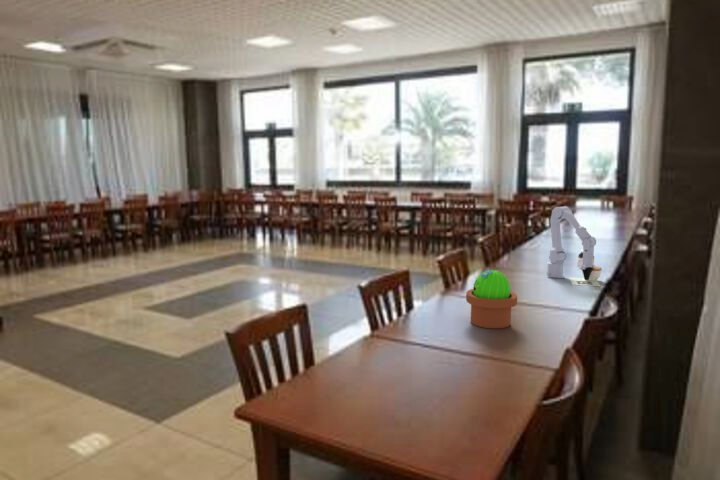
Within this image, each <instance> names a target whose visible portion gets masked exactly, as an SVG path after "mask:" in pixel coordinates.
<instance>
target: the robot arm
mask: <svg viewBox="0 0 720 480" xmlns="http://www.w3.org/2000/svg"><path fill="white" fill-rule="evenodd" d="M549 220H550V221H549V223H550V224H549V225H550V234H551V245H552V247H551V249H550V252H549V257H548V259H549V261H550V262H547V267H546V276H547V278H555V279H556V278H558V279H559V278H560V279H565V275H563V273H564V263H565V260H566V259H567V254H566V253H565V249H564V247H563V245H562V236H561V221H563V220H567V221H568V223H570V225H571V226H572V228H574V229H575V234H576V235H577V236H578V238H579V240H581V245H582V250H583V263H582V266H581V268H580V269H581V271H583V272H582V275H583V274H584V276H583V278H584V279H585V280H589V277H590V274H591V272H592V270H593V268H590V267H594V266H595V262H594V263H593V255H594V252H595V251H594V250H595V246H596V244H597V240H596V238H595V237H594V236H592V235H591V234H590V233H589V232H588V231H587V230H588V229H587V227H584V226H581V225H580V223H579V222H578V220H577V218H576V217H575V216H574V214H573V211H572V210H571V209H570V207H569V206H566V205H564V206H556V207H554V208H553V209H552V210H551V216H550V219H549Z"/></svg>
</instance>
